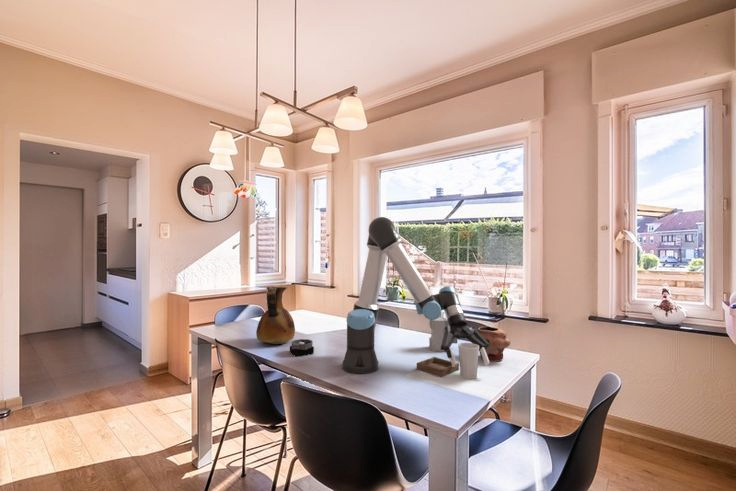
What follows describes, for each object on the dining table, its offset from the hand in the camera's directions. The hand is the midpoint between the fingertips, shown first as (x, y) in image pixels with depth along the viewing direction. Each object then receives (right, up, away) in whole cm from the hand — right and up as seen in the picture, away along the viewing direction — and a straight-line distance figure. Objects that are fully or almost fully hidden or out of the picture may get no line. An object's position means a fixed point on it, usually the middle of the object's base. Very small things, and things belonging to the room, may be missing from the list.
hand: (471, 364), depth 135 cm
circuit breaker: (-2, -6, +40) cm, 40 cm away
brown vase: (-89, -5, +49) cm, 102 cm away
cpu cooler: (-72, -5, +31) cm, 79 cm away
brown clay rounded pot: (+15, -6, +25) cm, 30 cm away
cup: (0, -5, +2) cm, 6 cm away
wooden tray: (-11, -5, +9) cm, 15 cm away
